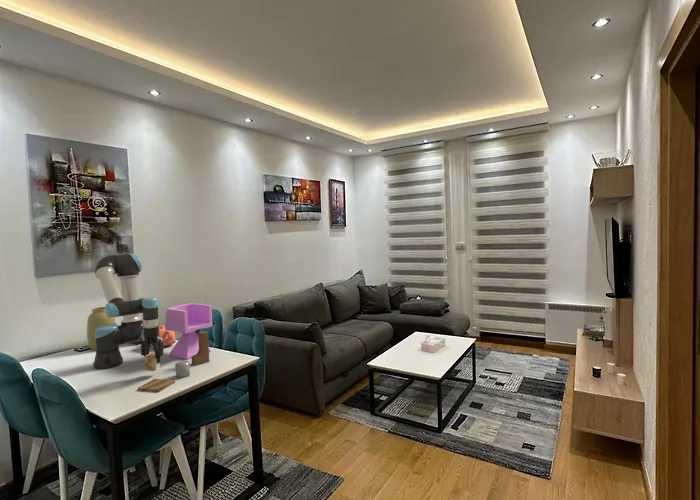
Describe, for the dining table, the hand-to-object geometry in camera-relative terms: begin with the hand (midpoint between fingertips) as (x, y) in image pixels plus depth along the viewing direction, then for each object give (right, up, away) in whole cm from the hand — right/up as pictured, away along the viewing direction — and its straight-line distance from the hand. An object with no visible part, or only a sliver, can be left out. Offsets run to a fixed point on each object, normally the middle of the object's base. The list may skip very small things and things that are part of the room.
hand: (152, 368), depth 214 cm
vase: (-61, -2, +54) cm, 82 cm away
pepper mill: (-40, -1, +66) cm, 77 cm away
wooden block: (+19, -3, +19) cm, 27 cm away
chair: (+6, -2, +37) cm, 37 cm away
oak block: (0, 0, 0) cm, 0 cm away
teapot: (-21, -1, +54) cm, 58 cm away
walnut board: (+9, -5, -15) cm, 18 cm away
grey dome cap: (+17, -4, -1) cm, 17 cm away
